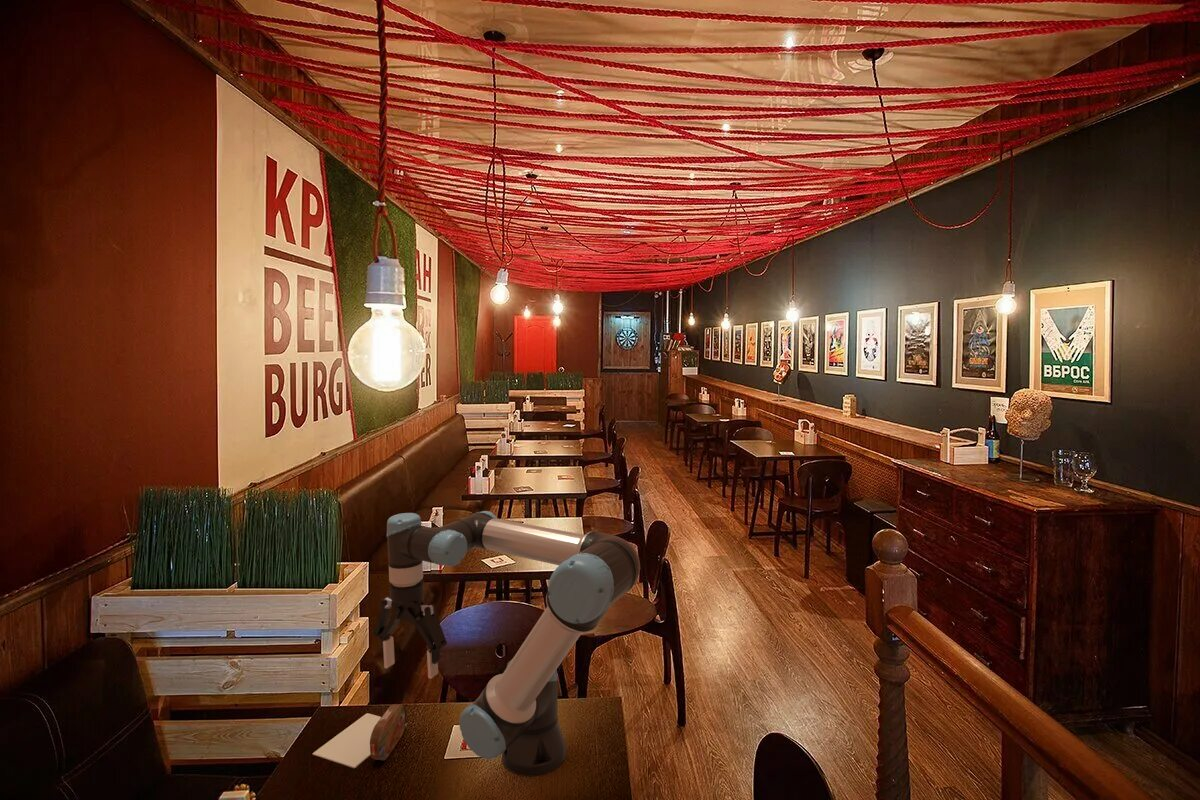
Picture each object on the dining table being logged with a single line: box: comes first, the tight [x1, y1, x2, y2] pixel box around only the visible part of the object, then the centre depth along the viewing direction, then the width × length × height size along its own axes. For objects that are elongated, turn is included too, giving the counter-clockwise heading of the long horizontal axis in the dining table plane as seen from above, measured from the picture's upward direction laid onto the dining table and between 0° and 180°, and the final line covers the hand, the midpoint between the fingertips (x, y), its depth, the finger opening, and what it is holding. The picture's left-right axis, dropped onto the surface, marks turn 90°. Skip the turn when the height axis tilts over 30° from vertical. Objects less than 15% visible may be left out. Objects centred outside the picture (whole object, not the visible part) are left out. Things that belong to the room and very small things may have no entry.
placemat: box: [312, 713, 407, 769], centre depth 161 cm, size 13×18×1 cm
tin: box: [370, 703, 407, 762], centre depth 157 cm, size 15×3×8 cm, turn 172°
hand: (411, 670), depth 153 cm, fingers open, 12 cm apart
